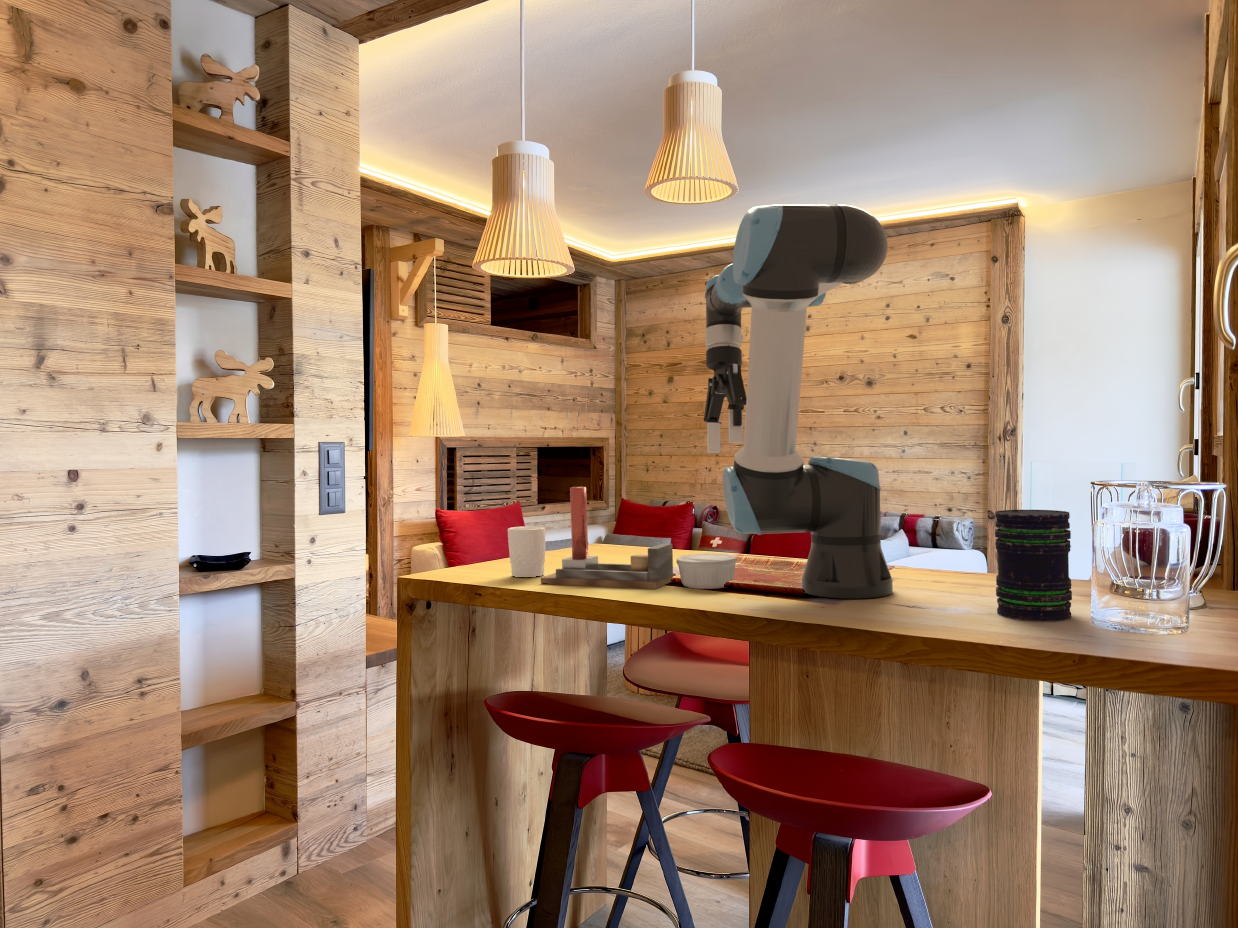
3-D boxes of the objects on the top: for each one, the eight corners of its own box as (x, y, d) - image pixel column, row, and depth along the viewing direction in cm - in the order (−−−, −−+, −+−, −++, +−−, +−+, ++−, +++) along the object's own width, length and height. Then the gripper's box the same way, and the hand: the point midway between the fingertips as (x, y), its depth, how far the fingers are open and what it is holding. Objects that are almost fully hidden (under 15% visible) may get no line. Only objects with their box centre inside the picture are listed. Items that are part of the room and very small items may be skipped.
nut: (651, 578, 152) (650, 557, 152) (630, 578, 153) (629, 557, 153) (652, 574, 156) (652, 554, 156) (632, 575, 157) (631, 554, 157)
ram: (598, 571, 161) (596, 486, 161) (585, 575, 156) (582, 488, 156) (576, 570, 163) (573, 486, 163) (562, 574, 158) (559, 488, 158)
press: (675, 579, 158) (674, 542, 157) (656, 588, 147) (654, 549, 147) (566, 575, 167) (565, 540, 167) (540, 583, 157) (539, 546, 157)
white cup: (550, 572, 171) (548, 525, 171) (542, 578, 164) (541, 529, 163) (513, 573, 172) (512, 526, 172) (504, 578, 164) (503, 530, 164)
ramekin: (676, 590, 146) (675, 561, 146) (678, 580, 157) (677, 553, 157) (738, 590, 145) (737, 560, 144) (736, 580, 156) (735, 552, 156)
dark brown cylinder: (1089, 617, 114) (1087, 512, 114) (1036, 624, 111) (1034, 516, 111) (1030, 605, 124) (1028, 508, 123) (981, 611, 120) (978, 511, 120)
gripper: (762, 333, 160) (764, 439, 157) (721, 364, 184) (721, 456, 181) (726, 331, 158) (727, 437, 155) (689, 362, 182) (689, 455, 179)
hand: (724, 448), depth 168 cm, fingers open, 13 cm apart
